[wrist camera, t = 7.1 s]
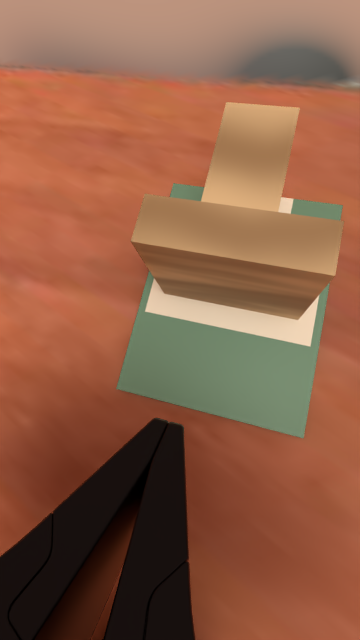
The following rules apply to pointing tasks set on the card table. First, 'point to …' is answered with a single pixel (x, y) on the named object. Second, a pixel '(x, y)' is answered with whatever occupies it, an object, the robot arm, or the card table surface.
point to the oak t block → (241, 225)
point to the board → (227, 349)
